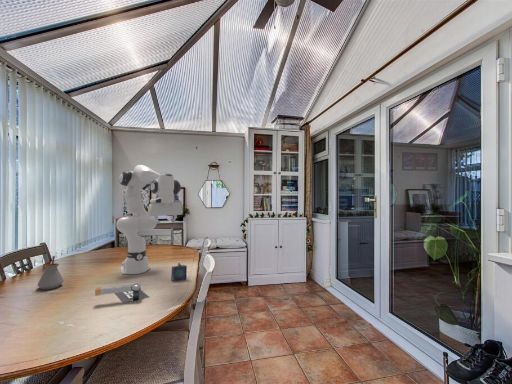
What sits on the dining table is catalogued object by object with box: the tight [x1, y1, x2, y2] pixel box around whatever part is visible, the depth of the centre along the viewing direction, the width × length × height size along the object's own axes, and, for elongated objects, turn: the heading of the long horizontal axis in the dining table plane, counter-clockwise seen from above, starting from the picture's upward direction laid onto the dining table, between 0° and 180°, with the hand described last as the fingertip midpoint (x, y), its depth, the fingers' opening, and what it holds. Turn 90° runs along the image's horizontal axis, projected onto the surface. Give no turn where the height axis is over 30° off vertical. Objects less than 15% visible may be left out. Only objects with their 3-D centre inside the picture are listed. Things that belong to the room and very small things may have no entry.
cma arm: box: [94, 283, 142, 297], centre depth 119 cm, size 20×4×3 cm, turn 110°
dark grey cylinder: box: [133, 291, 140, 302], centre depth 122 cm, size 3×3×4 cm
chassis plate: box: [113, 289, 150, 305], centre depth 127 cm, size 18×12×1 cm, turn 44°
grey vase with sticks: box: [37, 255, 64, 291], centre depth 143 cm, size 21×12×15 cm, turn 36°
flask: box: [170, 262, 188, 282], centre depth 153 cm, size 9×3×11 cm, turn 109°
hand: (165, 223), depth 145 cm, fingers open, 8 cm apart
